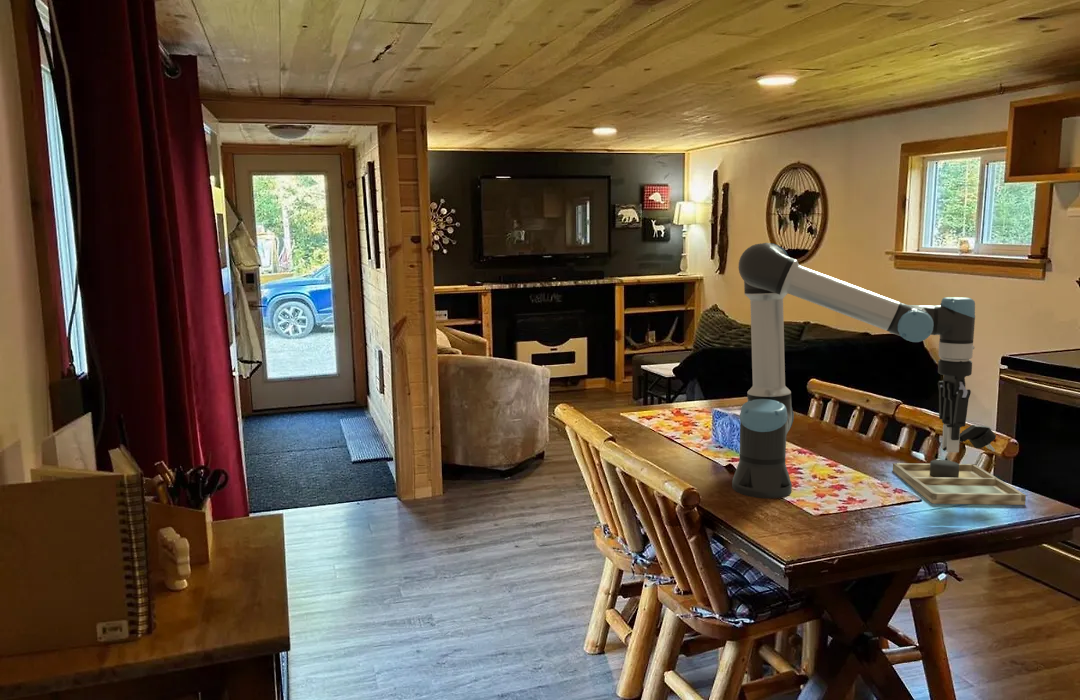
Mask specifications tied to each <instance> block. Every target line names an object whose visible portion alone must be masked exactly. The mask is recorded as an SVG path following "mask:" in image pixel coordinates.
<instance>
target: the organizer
mask: <svg viewBox="0 0 1080 700" xmlns="http://www.w3.org/2000/svg"><path fill="white" fill-rule="evenodd" d="M958 464H959V477H958V478H954V477H932V476H931V475H930V463H916V462H915V463H908V462H907V463H902V462H901V463H900V462H896V463H894V462H893V463H892V472H894V473H895V474H896V475H897V476H899V478H901V479H902V480H903V481H904V482H906V483H907V484H908V485H909V486H910V487H911V488H913V489H914V490H915V491H916V492H918V494H920V495H921V496H922V497H924V498H925V499H926V500H927V501H929V502H930V503H931V504H940V505H941V504H942V505H943V504H945V505H946V504H947V505H949V504H950V505H1000V506H1001V505H1007V506H1008V505H1009V506H1011V505H1013V506H1014V505H1019V506H1020V505H1021V506H1025V505H1026V500H1027V498H1026V497H1027V495H1026V494H1025V493H1023V492H1021V491H1020V490H1019V489H1017V488H1015V487H1013V486H1011V485H1010V484H1008V483H1007V482H1005V481H1003V480H1001V479H1000V478H998V477H997V476H995V475H993V474H991V473H990V472H989V471H987V470H985V469H984V468H982V467H980V466H979V465H978V464H974V463H958Z"/></svg>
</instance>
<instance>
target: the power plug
mask: <svg viewBox="0 0 1080 700" xmlns="http://www.w3.org/2000/svg"><path fill="white" fill-rule="evenodd" d="M996 438H997V435H996V433H994V432H993V430H992V429H991V428H990V426H987V425H977V424H971V425H969V426H968V427H966V428H965V429H964V430H962V431H961V432H960V440H959V444H961V443H964V442H966V441H969V442H970V444H971V445H972V446H973V447H974V448H975V449H981V448H985V447H986V448H987V450H990V451H991V452H996V451H995V450H996V449H995V447H994V446H992V444H991V443H992V442H994V441H995V439H996ZM946 449H947V446H946V447H945V448H943V449H942V451H943V452H946Z"/></svg>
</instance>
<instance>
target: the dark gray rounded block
mask: <svg viewBox="0 0 1080 700" xmlns="http://www.w3.org/2000/svg"><path fill="white" fill-rule="evenodd" d="M929 464H930V475H931V476H932V477H954V478H958V477H959V464H960V463H958V462H957V461H952V460H946V459H932V460H930V462H929Z"/></svg>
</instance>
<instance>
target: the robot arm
mask: <svg viewBox="0 0 1080 700" xmlns="http://www.w3.org/2000/svg"><path fill="white" fill-rule="evenodd" d="M737 268H738V274H739V275H740V277H741V279H742V280H743V284H744V285H743V288H744V289H743V290H744V296H746V297H747V298H748V299H749V301H750V327H751V328H750V333H751V335H750V336H751V369H752V371H751V372H752V386H751V387H750V389H748V391H747V394H746V395H747V396H746V397H747V401H746V402H744V403H743V404H742V406H741V407H740V412H739V413H740V414H739V421H740V423H739V460H738V461H739V462H738V464H737V466H736V469H735V471H734V475H733V478H732V481H731V488H732V489H733V491H734V492H736V493H738V494H741V495H744V496H746V497H751V498H755V499H765V500H766V499H767V500H768V499H769V500H770V499H780V498H785V497H788V496H790V495H791V494H792V492H793V491H792V490H793V489H792V487H793V485H792V481H791V478H790V475H789V471H788V468H787V465H786V456H787V455H786V452H787V434H788V433H789V431H790V429H791V428H792V427H793V422H794V418H795V417H794V416H795V415H794V411H793V407H792V391H791V390H790V389H789V387H787V386H786V372H785V371H786V366H785V365H786V363H785V361H786V360H785V331H784V329H785V324H784V323H785V322H784V321H785V320H784V299H785V297H786V296H787V295H788V294H789V295H791V296H794V297H797V298H799V299H802V300H804V301H807V302H810V303H811V304H815V305H818V306H819V307H820V306H821V307H823V308H825V309H828V310H831V311H833V312H836V313H839V314H841V315H844V316H847V317H850V318H851V319H854V320H857V321H860V322H862V323H866V324H868V325H871V326H872V327H876V328H878V329H881V330H884V331H887V332H889V333H890V334H893V335H896V336H899V337H901V338H902V339H904V340H905V341H909V342H912V343H920V342H922V341H923V342H924V341H925V340H926V339H928V338H929V337H930V336H939V341H938V357H939V359H938V360H937V361H938V363H937V373H938V374H940V375H942V376H943V378H942V380H938V381H937V386H938V418H939V420H941V422H942V424H943V425H942V437H941V438H942V441H941V449H942V450H943V448H945V447H946V446H947V449H946V450H945V452H947V453H959V452H960V443H959V440H960V433H961V428H962V427H966V425H967V424H966V422H967V417H968V416H967V413H968V407H969V398H970V396H971V393H972V392H971V389H967V388H966V379H965V378H967V377H970V376H971V375H972V372H973V362H972V360H971V359H972V358H973V355H974V354H973V352H974V351H973V350H975V346H974V338H975V337H974V336H975V323H976V302H975V300H974V299H972V298H971V297H965V296H963V297H961V296H959V297H958V296H953V297H951V296H947V297H943V298H942V299H941V302H940V304H938V305H937V304H935V305H925V304H924V305H923V304H921V305H917V304H906V303H902V302H900V301H898V300H895V299H892V298H889V297H887V296H884V295H880V294H879V293H877V292H873V291H871V290H867V289H865V288H862V287H860V286H857V285H854V284H852V283H849V282H847V281H844V280H840V279H839V278H835V277H833V276H830V275H827V274H826V273H825V274H824V273H821V272H819V271H816V270H813V269H811V268H808V267H805V266H803V265H800V264H799V261H798V260H797V259H796V258H793V257H790V256H789V255H788V253H787V251H786V250H785V249H784V248H783V247H782V246H780V245H778V244H776V243H772V242H763V243H756V244H753V245H751V246H749V247H748V248H747V249H745V250H744V251H743V252H742V254H741V256H740V257H739V259H738V267H737Z"/></svg>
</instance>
